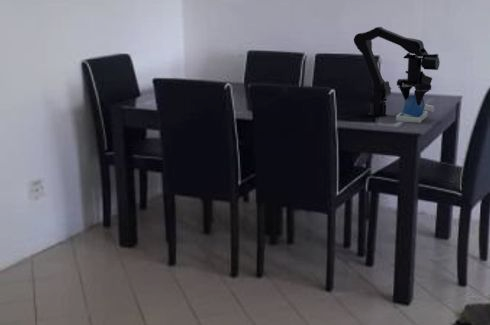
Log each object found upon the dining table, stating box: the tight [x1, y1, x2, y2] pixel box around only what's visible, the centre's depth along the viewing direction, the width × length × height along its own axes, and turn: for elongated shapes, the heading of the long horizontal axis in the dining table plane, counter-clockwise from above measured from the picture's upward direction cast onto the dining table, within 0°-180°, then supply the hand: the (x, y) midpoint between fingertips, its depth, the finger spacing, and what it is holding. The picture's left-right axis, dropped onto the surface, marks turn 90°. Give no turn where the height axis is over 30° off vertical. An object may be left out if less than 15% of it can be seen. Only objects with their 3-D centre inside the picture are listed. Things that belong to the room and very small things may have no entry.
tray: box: [395, 110, 429, 124], centre depth 294 cm, size 16×11×2 cm, turn 154°
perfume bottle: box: [401, 91, 425, 117], centre depth 293 cm, size 6×6×12 cm
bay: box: [402, 103, 435, 113], centre depth 311 cm, size 11×9×2 cm
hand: (412, 103), depth 293 cm, fingers open, 9 cm apart
